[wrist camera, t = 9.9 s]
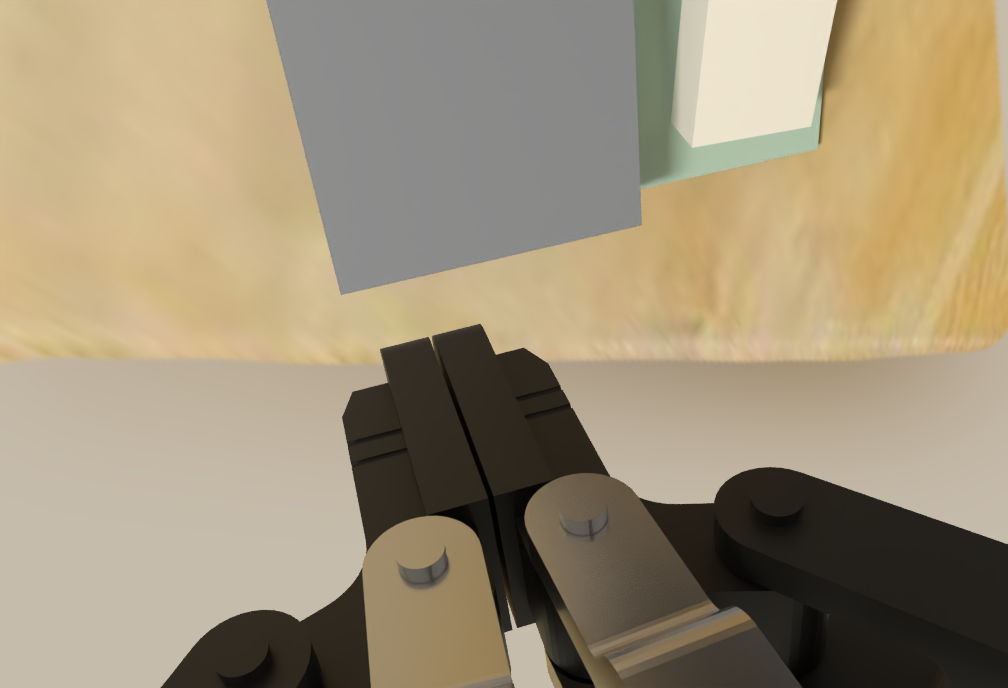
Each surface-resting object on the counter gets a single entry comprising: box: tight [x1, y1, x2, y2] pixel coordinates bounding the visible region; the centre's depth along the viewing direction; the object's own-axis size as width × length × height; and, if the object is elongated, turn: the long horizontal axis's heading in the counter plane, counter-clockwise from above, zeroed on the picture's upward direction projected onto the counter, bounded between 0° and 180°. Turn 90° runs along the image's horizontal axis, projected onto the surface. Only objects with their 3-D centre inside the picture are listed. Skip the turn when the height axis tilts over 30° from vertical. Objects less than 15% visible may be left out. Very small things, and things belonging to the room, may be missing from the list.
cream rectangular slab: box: [671, 0, 837, 148], centre depth 41 cm, size 9×6×4 cm, turn 5°
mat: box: [633, 0, 825, 189], centre depth 42 cm, size 16×11×1 cm
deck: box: [266, 0, 642, 295], centre depth 38 cm, size 16×14×4 cm
